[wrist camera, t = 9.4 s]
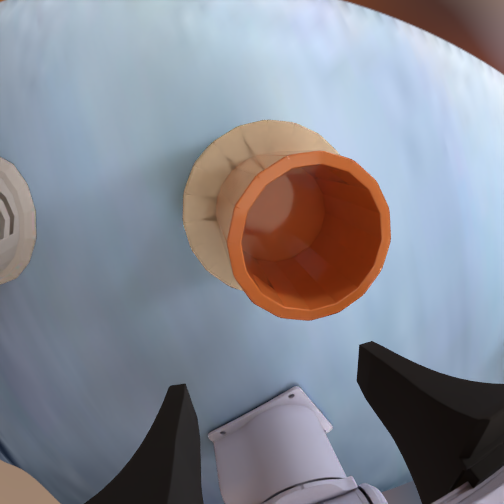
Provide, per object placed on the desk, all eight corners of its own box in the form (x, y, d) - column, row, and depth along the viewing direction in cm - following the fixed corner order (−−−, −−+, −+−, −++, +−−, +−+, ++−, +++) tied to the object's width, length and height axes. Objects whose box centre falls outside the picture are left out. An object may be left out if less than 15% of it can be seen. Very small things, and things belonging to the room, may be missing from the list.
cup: (255, 284, 15) (286, 348, 10) (192, 194, 14) (191, 218, 9) (344, 225, 15) (410, 259, 10) (291, 131, 14) (346, 120, 8)
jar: (233, 280, 22) (247, 324, 16) (160, 178, 19) (146, 187, 13) (333, 212, 22) (379, 234, 16) (271, 107, 19) (302, 89, 13)
